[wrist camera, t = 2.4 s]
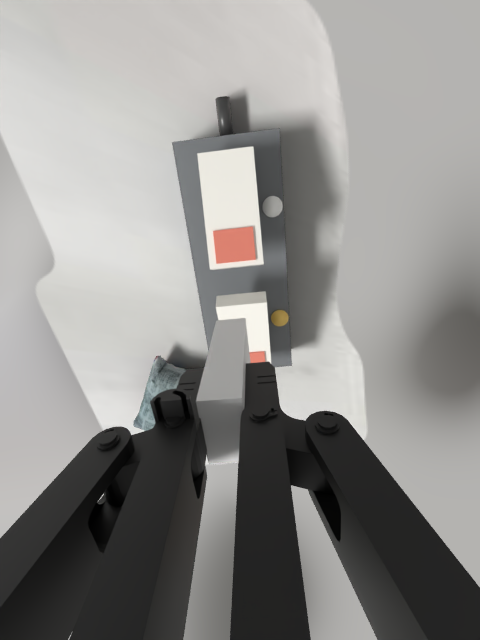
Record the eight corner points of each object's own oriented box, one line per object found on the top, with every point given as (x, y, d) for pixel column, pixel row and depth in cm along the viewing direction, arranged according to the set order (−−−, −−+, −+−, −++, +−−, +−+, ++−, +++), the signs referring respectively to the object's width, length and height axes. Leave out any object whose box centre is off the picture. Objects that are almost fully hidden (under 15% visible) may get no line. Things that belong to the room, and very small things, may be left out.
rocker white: (200, 160, 26) (196, 152, 25) (253, 154, 26) (253, 145, 24) (212, 270, 27) (209, 269, 26) (263, 264, 27) (263, 264, 25)
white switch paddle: (216, 295, 28) (215, 308, 27) (265, 291, 28) (266, 303, 27) (230, 361, 34) (229, 374, 33) (270, 358, 34) (271, 371, 33)
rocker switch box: (174, 108, 29) (159, 94, 24) (274, 94, 28) (279, 77, 23) (215, 356, 39) (210, 380, 34) (288, 350, 39) (293, 374, 34)
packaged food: (226, 367, 40) (222, 391, 36) (198, 433, 45) (192, 462, 40) (160, 345, 39) (147, 367, 35) (138, 415, 44) (125, 442, 39)
